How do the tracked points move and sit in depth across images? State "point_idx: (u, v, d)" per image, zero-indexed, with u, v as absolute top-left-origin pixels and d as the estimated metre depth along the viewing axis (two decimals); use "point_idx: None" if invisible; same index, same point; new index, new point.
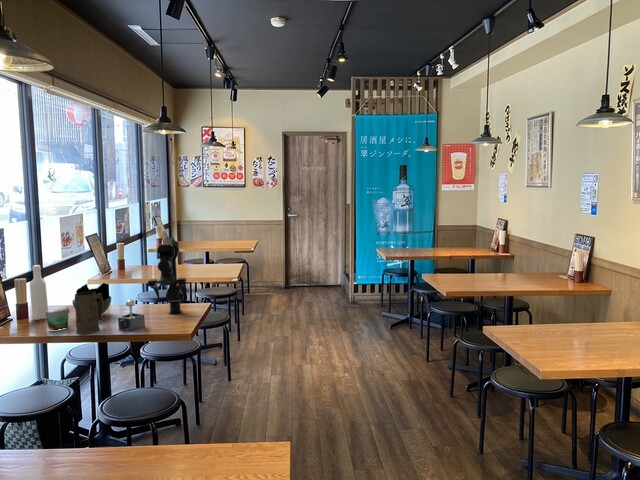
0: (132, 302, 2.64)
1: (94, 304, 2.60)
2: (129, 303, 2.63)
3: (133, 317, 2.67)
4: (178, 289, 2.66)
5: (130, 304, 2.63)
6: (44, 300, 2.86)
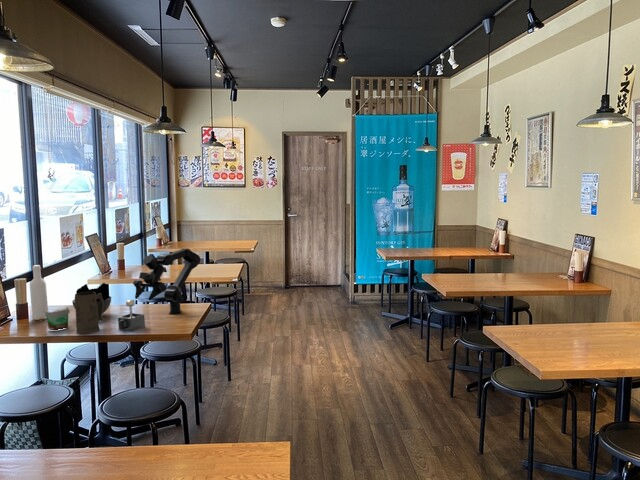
0: (132, 302, 2.64)
1: (94, 304, 2.60)
2: (129, 303, 2.63)
3: (133, 317, 2.67)
4: (153, 290, 2.71)
5: (130, 304, 2.63)
6: (44, 300, 2.86)
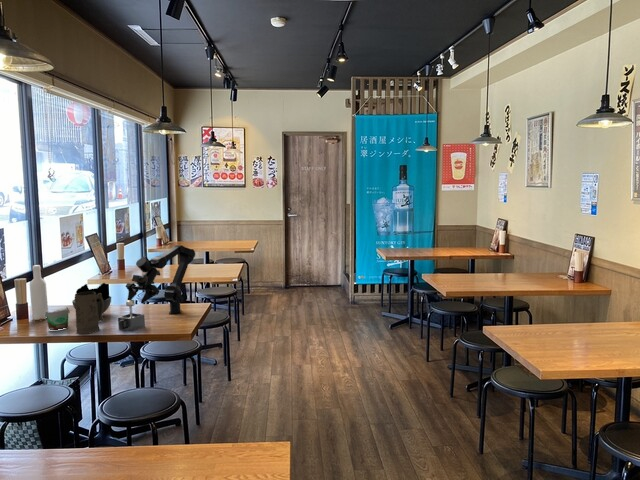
0: (132, 302, 2.64)
1: (94, 304, 2.60)
2: (129, 303, 2.63)
3: (133, 317, 2.67)
4: (145, 293, 2.67)
5: (130, 304, 2.63)
6: (44, 300, 2.86)
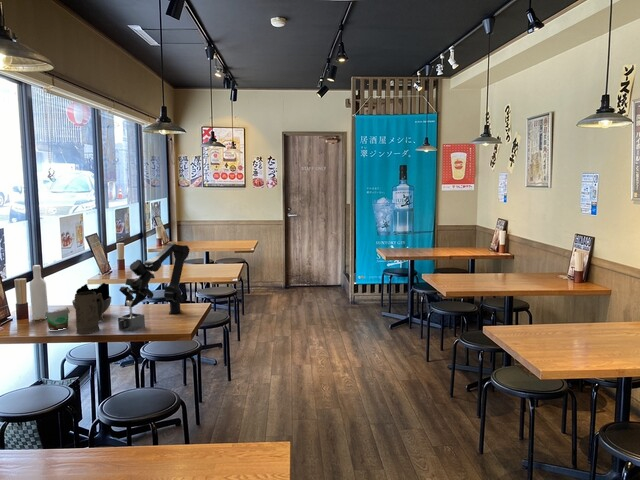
0: (132, 302, 2.64)
1: (94, 304, 2.60)
2: (129, 303, 2.63)
3: (133, 317, 2.67)
4: (136, 297, 2.64)
5: (130, 304, 2.63)
6: (44, 300, 2.86)
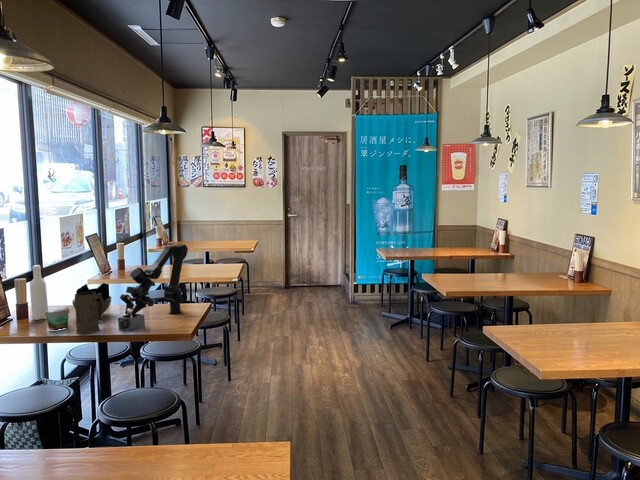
0: None
1: (94, 304, 2.60)
2: (130, 311, 2.63)
3: None
4: (136, 305, 2.65)
5: (131, 312, 2.64)
6: (44, 300, 2.86)
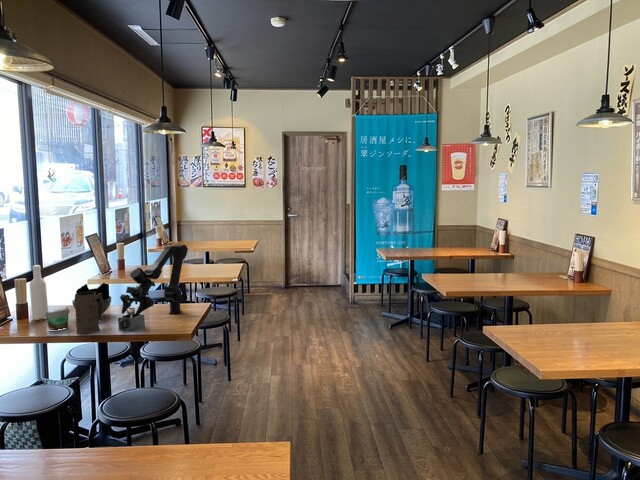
0: (133, 310, 2.64)
1: (94, 304, 2.60)
2: (130, 311, 2.63)
3: None
4: (140, 305, 2.64)
5: (131, 312, 2.64)
6: (44, 300, 2.86)
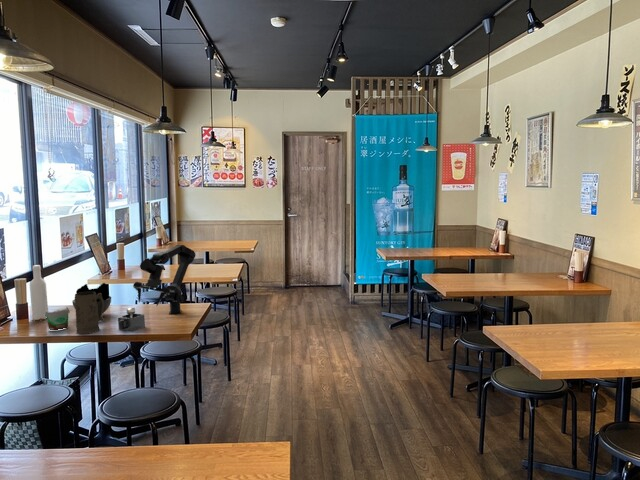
0: (133, 310, 2.64)
1: (94, 304, 2.60)
2: (130, 311, 2.63)
3: None
4: (160, 296, 2.76)
5: (131, 312, 2.64)
6: (44, 300, 2.86)
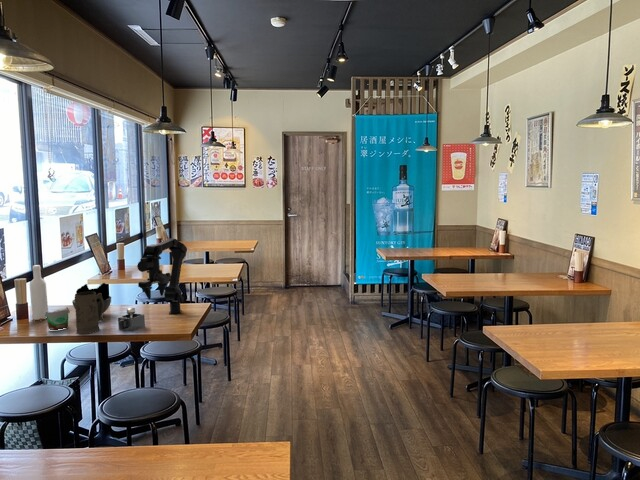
0: (133, 310, 2.64)
1: (94, 304, 2.60)
2: (130, 311, 2.63)
3: None
4: (164, 286, 2.81)
5: (131, 312, 2.64)
6: (44, 300, 2.86)
